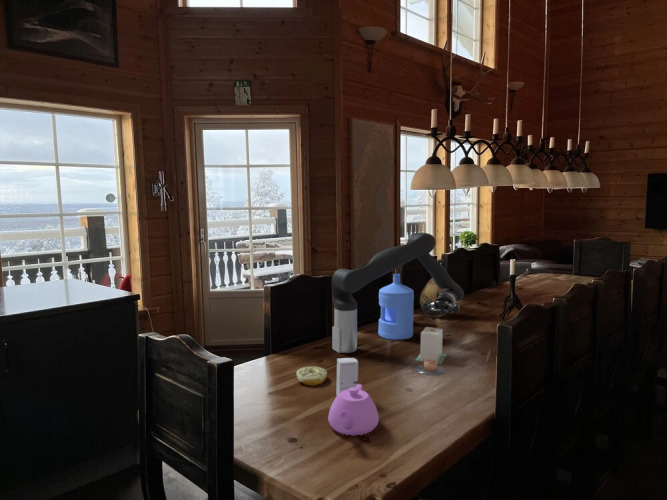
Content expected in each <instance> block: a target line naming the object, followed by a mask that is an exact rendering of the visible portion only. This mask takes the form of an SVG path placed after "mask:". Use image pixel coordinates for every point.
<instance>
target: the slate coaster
mask: <svg viewBox="0 0 667 500" xmlns="http://www.w3.org/2000/svg"><path fill="white" fill-rule="evenodd" d="M414 371H416V372H417V373H418V374H421V375H425V376H433V377H434V376H441V375H445V374H446V373H447V370H446V369H445V368H444V367H442V366H440V365H437V371H436V372H427V371H424V364H420V365H417V366H416V367H414Z"/></svg>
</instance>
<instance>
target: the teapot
mask: <svg viewBox="0 0 667 500" xmlns="http://www.w3.org/2000/svg"><path fill="white" fill-rule="evenodd" d="M327 419H328V423H329V425H330V426H331V428H332V429H333V430H334V431H335V432H337V433H338V434H342V435H344V434H345V435H344V436H349V435H351V436H350V437H352V436H354V437H356V436H355V435H360V436H364V435H363V434H365V435H367V433H368V434H370V433H372V431H374V430H375V428H376V427H377V426H378V424H379V421H380V420H379V413H378V409H377V406H376V404H375V402H374V401H373V399H372V397H371V396H370V395H369V393H368V392H366V391H365V390H363V385H362V384H361V383H358V385H357V386H356V388H355V387H352V388H349V389H348V390H344V391H342V392H340V393H339V394H338V396H337V395H336V397H335V399H334V400H333V402H332V403H331V406H330V409H329V412H328V417H327ZM369 432H370V433H369Z"/></svg>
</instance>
